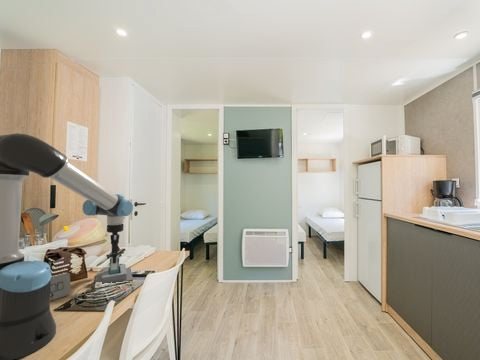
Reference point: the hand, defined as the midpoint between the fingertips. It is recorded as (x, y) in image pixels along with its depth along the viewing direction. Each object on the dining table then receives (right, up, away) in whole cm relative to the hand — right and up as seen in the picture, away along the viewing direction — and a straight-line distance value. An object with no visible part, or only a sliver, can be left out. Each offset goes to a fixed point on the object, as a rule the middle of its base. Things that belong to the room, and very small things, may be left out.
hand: (114, 265), depth 111 cm
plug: (0, -6, 0) cm, 6 cm away
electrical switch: (-14, -7, -19) cm, 25 cm away
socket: (0, -7, 0) cm, 7 cm away
